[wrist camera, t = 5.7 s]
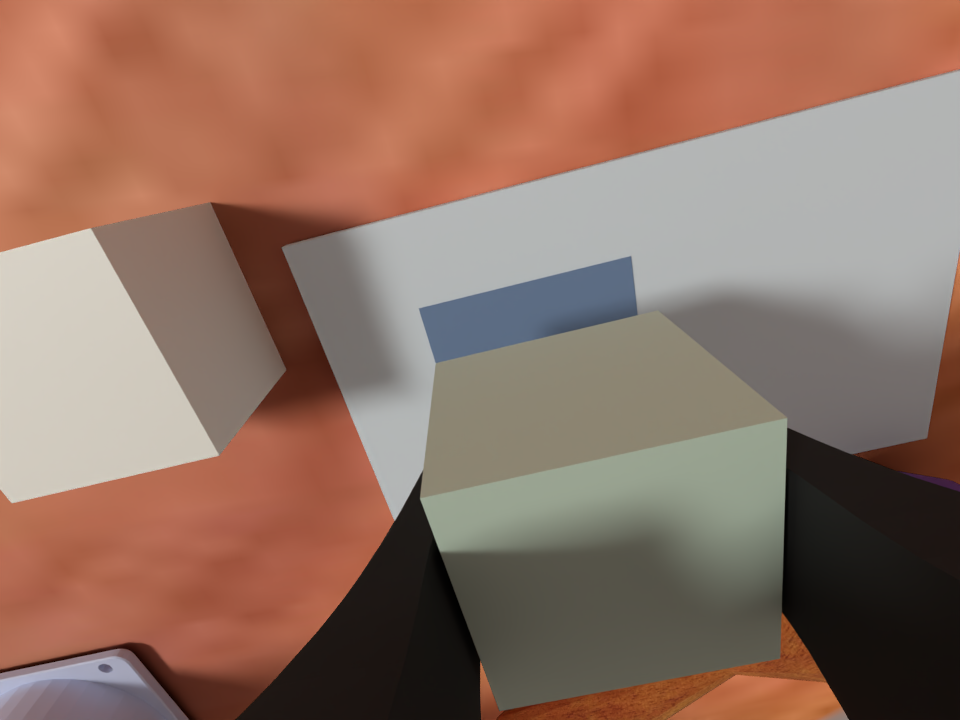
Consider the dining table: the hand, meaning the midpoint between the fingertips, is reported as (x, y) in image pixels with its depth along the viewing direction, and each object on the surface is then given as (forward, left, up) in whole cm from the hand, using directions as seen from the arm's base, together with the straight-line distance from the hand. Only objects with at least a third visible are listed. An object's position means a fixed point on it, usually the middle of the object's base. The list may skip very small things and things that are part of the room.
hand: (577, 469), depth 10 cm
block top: (-10, +4, -5) cm, 12 cm away
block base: (0, 0, -2) cm, 2 cm away
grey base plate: (+3, 0, -5) cm, 6 cm away
